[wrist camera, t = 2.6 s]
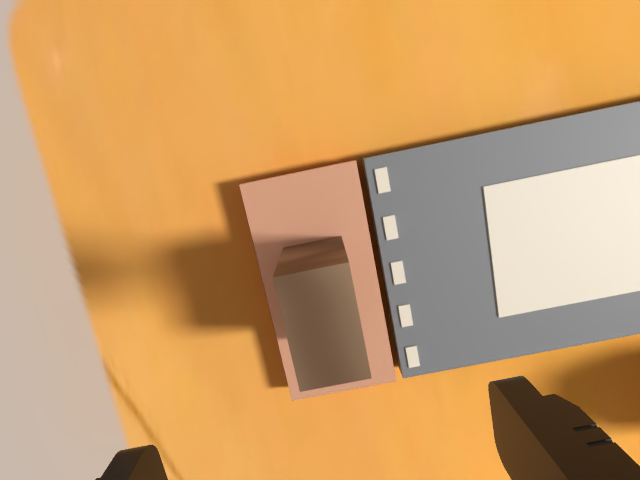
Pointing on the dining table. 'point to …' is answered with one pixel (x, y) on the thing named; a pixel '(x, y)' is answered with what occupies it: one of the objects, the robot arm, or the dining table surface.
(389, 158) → the grey slab
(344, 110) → the dining table surface
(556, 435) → the robot arm
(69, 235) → the dining table surface
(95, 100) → the dining table surface
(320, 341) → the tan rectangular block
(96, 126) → the dining table surface
